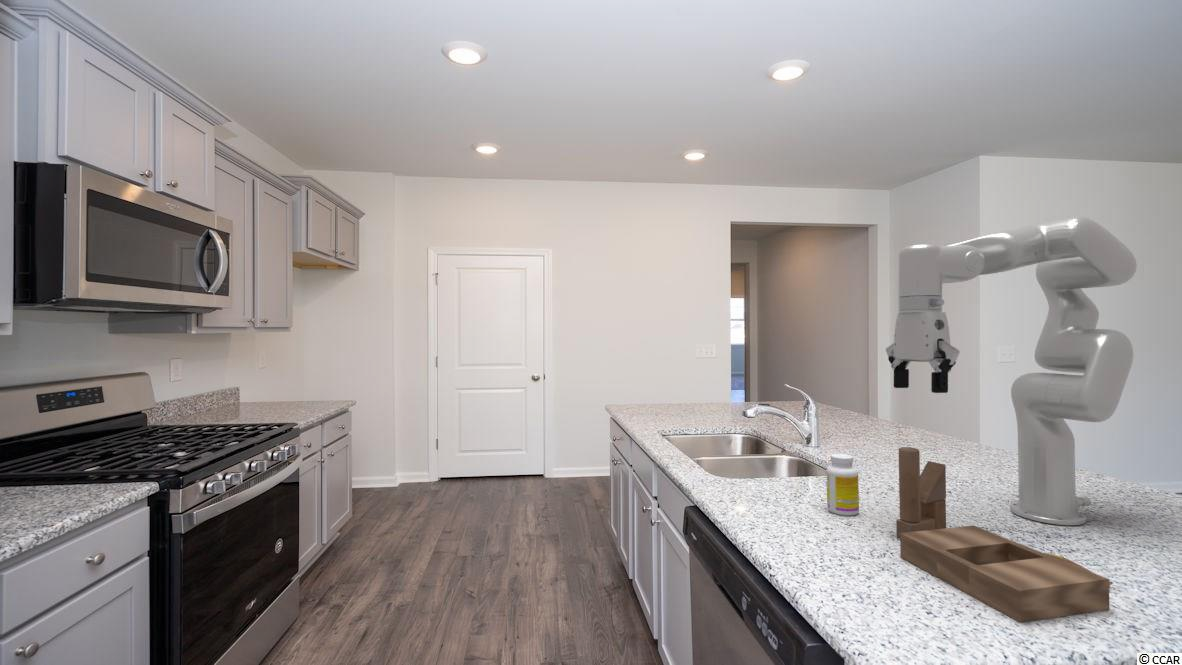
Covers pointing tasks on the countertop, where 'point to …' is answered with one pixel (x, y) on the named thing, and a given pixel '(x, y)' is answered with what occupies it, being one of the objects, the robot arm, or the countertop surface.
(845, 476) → the supplement bottle
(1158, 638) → the countertop surface
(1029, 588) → the slotted crossbeam
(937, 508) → the wooden block
